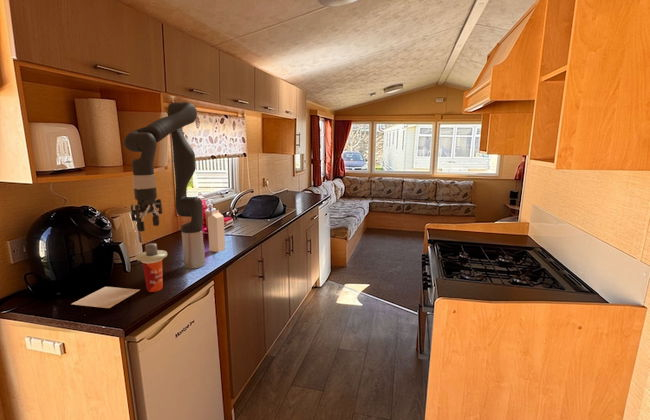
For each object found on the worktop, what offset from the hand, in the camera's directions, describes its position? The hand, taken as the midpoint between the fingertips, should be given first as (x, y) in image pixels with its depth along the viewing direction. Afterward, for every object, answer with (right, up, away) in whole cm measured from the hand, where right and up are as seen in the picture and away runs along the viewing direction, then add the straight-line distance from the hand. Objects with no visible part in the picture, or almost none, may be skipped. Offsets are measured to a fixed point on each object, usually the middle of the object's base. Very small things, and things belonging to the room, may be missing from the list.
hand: (149, 228), depth 136 cm
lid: (0, -11, +2) cm, 12 cm away
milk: (+9, -15, +57) cm, 60 cm away
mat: (-15, -26, -2) cm, 30 cm away
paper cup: (0, -25, +5) cm, 26 cm away
